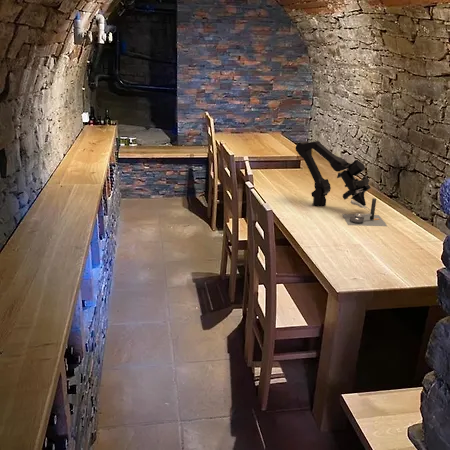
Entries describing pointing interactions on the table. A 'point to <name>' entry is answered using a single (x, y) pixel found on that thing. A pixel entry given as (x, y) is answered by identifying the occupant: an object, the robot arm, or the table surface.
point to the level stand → (365, 221)
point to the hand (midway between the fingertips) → (365, 205)
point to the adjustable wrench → (358, 204)
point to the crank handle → (360, 217)
